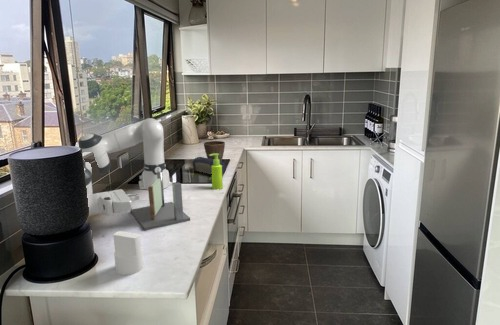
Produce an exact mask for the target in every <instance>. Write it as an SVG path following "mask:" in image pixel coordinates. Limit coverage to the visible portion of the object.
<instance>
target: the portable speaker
mask: <svg viewBox="0 0 500 325" xmlns="http://www.w3.org/2000/svg"><path fill="white" fill-rule="evenodd" d="M213 160H214V159H209V158H207V157H204V156H197V157H195V158H194V159H193V161H192V167H193V169H194V170H195V171H196V172H198V171H199V172H198V173H202V172H203V174H206V173H207V175H211V174H212V170H211V166H212V165H214V164H213ZM219 162H220V165H222V176H223V175H224V174H225V173H226V169H227V165H226V164H225V163H224V161H223V160H222V161H220V160H219Z"/></svg>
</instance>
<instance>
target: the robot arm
mask: <svg viewBox="0 0 500 325" xmlns="http://www.w3.org/2000/svg"><path fill="white" fill-rule="evenodd" d="M164 136H165V135H164V126H163V124H162V123H161V122H160V121H158V120H157V119H155V118H152V117H151V118H149V117H148V118H146V119H143V120H140V121H138V122H135V123H133V124H130V125H128V126H124V127H121V128H119V129H116V130H113V131H110V132H107V133H105V134H103V135H98V134H96V133H87V134H85V135H82V136H81V137H80V138H79V139H78V141H77V142H78V143H77V144H78V147H80V148H81V149H82V152H93V153H94V157H95V160H96V162H97V165H98V167H99V171H100V173H101V174H100V175H103V174H106V173H107V172H109V171H110V169H111V168H112V164H111V160H110V158H109V155H108V154H112V153H116V152H120V151H124V150H126V149H128V148H131V147H134V146H137V145H138V144H140V143H143V146H142V147H143V159H144V160H143V161H144V162H143V169H144V170H143V171H142V173H141V175H139V181H138V186H139V190H147V191H148V187H149V186H152V185H153V184H154V182H155V181H156V180H157V172H159V171H161V172H162V177H163V189H166V188H168V187H170V186H172V183H173V181H170V173H169V170H168V169H167V166H166V162H165V151H164V149H165V148H164V147H165V144H164V140H165V138H164ZM80 148H79V149H80ZM81 149H80V150H81ZM82 152H81V153H82ZM83 163H84V173H85V180H86V188H87V198H88V207H89V216H88V217H90V216H93V215H94V216H95V215H106V216H109V217H110V216H113V215H114V214H119V213H124V212H128V211H131V209H134V207H133V202H135V201H137V200H140V195H139V194H138V193H135V194H133V193H132V194H131V193H128V194H126V192H125V191H124V190H123V189H121V188H120V189H119V188H118V189H114V190H109V191H102V192H96V193H95V192H94V190H93V184H92V183H93V182H92V175H93V173H92V167H91V164H90V163H89V162H85V160H84V159H83ZM93 192H94V193H93Z"/></svg>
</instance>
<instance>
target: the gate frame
mask: <svg viewBox="0 0 500 325" xmlns="http://www.w3.org/2000/svg"><path fill="white" fill-rule="evenodd" d="M157 179H160V180H161V193H162V206H161V208H160V209H159V211H158V212H157V214H156V215H155V219H151V215H150V205H148V206H143V207H136V208H132V209H131V210H130V213H131V214H132V216H133V217H134V218H135V219H136V221H137V222H138V223H139V225H140V226H141V227H142V229H143V231H149V230H154V229H157V228H162V227H167V226H172V225H176V224H181V223H185V222H189V221H191V217H190V216H188V214H186V212H184V206H183V192H182V190H183V189H182V184H181V183H180V182H179V181H178V182H174V183H173V182H172V184H171V186H172V200H173V201H170V202H169V201H168V202H165V196H164V195H165V194H164V188H163V177H162V172H161V171H159V172H157Z"/></svg>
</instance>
